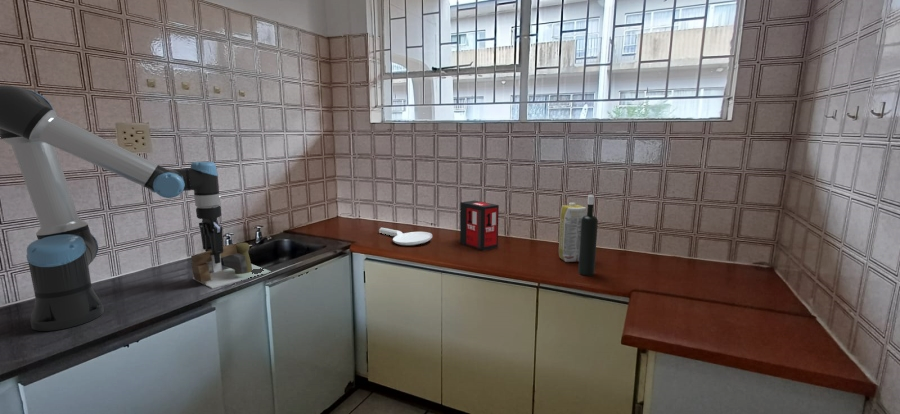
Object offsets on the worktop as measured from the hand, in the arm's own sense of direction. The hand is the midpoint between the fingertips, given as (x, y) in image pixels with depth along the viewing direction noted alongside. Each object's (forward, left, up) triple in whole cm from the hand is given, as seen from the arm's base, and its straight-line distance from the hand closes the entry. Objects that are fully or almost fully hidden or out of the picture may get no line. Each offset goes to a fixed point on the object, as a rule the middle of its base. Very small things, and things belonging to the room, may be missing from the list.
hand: (215, 270), depth 147 cm
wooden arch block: (+1, 0, -2) cm, 2 cm away
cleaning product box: (+96, -50, -4) cm, 109 cm away
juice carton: (+101, -93, -4) cm, 138 cm away
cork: (+10, 0, -3) cm, 11 cm away
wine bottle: (+88, -104, -4) cm, 136 cm away
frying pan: (+83, -13, -4) cm, 84 cm away
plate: (+6, 0, -4) cm, 7 cm away
